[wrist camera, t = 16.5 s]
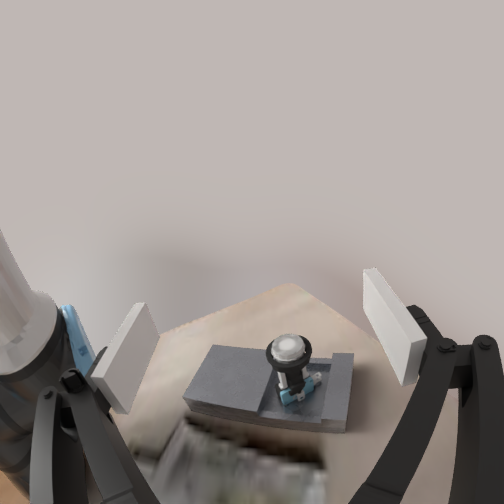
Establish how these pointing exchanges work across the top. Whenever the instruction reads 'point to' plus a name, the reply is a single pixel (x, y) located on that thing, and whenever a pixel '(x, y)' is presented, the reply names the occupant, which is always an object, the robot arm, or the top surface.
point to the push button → (291, 367)
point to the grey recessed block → (270, 391)
